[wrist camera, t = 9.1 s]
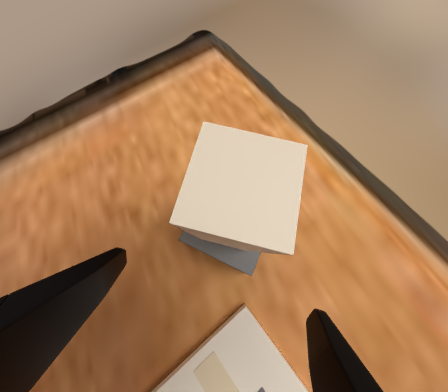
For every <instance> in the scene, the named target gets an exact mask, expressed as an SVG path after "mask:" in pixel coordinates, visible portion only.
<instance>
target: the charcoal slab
mask: <svg viewBox="0 0 448 392" xmlns="http://www.w3.org/2000/svg"><path fill="white" fill-rule="evenodd" d="M179 241H181V242H183V243H185V244H187V245H189V246H191V247H193V248H196V249H198V250H200V251H202V252H204V253H206V254H208V255H210V256H212V257H214V258H216V259H218V260H220V261H222V262H224V263H226V264H228V265H230V266H232V267H234V268H236V269H238V270H240V271H242V272H244V273H246V274H248V275H250V276H252V274H253V272H254V269H255V266H256V264H257V261H258V258H259V256H260V253H261V252H255V251H244V250H241V249H237V248H233V247H229V246H225V245H221V244H217V243H214V242H210V241H206V240H202V239H200V238H198V237H196V236H194V235H192V234H190V233H188V232H186V231H184V230H183V232H182V234H181V236H180V238H179Z"/></svg>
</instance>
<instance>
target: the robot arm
mask: <svg viewBox="0 0 448 392" xmlns="http://www.w3.org/2000/svg"><path fill="white" fill-rule="evenodd" d="M126 262H127V258H126V250H125V249H122V248H119V247H117V248H114V249H111V250H109V251H107V252H104V253H102V254H100V255H98V256H95V257H93V258H91V259H88V260H86V261H84V262H81V263H79V264H77V265H75V266H72V267H70V268H68V269H65V270H63V271H61V272H58V273H56V274H54V275H52V276H49V277H47V278H45V279H42V280H40V281H38V282H35V283H33V284H31V285H28V286H26V287H24V288H22V289H19V290H17V291H15V292H12V293H10V295H5V296H3V297H1V298H0V392H29V391H30V390H31V389H32V387H33V386H34V385H35V384H36V382H37V381H38V380H39V379H40V377H41V376H42V375H43V374H44V372H45V371H46V370H47V369H48V367H49V366H50V365H51V364H52V362H53V361H54V360H55V359H56V357H57V356H58V355H59V354H60V352H61V351H62V350H63V349H64V347H65V346H66V345H67V344H68V342H69V341H70V340H71V339H72V337H73V336H74V335H75V334H76V332H77V331H78V330H79V329H80V327H81V326H82V325H83V324H84V322H85V321H86V320H87V319H88V317H89V316H90V315H91V314H92V312H93V311H94V310H95V309H96V307H97V306H98V305H99V304H100V302H101V301H102V300H103V298H104V297H105V296H106V294H107V293H108V291H109V290H110V288H111V287H112V285H113V284H114V282H115V281H116V279H117V278H118V276H119V275H120V273H121V272H122V270H123V269H124V267H125V265H126ZM306 330H307V345H308V360H309V369H310V376H311V383H312V389H313V392H383V390H382V389H381V388H380V386H379V385H378V384H377V382H376V381H375V379H374V378H373V377H372V375H371V374H370V373H369V371H368V370H367V368H366V367H365V366H364V364H363V363H362V362H361V360H360V359H359V357H358V356H357V355H356V353H355V352H354V350H353V349H352V348H351V346H350V345H349V344H348V342H347V341H346V339H345V338H344V337H343V335H342V334H341V333H340V331H339V330H338V328H337V327H336V326H335V324H334V323H333V322H332V320H331V319H330V317H329V316H328V315H327V313H326V312H324V311H322V310H319V309H314V310H313V311H312V312H311V314H310V315H309V317H308V318H307V321H306Z"/></svg>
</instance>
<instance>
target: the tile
mask: <svg viewBox="0 0 448 392" xmlns="http://www.w3.org/2000/svg"><path fill="white" fill-rule="evenodd" d="M151 392H308V390H307V388H306V387H305V386H304V384H303V383H302V381H301V380H300V379H299V377H298V376H297V375H296V373H295V372H294V370H293V369H292V368H291V366H290V365H289V364H288V362H287V361H286V360H285V358H284V357H283V355H282V354H281V353H280V351H279V350H278V349H277V347H276V346H275V344H274V343H273V342H272V340H271V339H270V338H269V336H268V335H267V333H266V332H265V331H264V329H263V328H262V327H261V325H260V324H259V322H258V321H257V320H256V318H255V317H254V316H253V314H252V313H251V312H250V310H249V309H248V307H247V306H246V305H245V303H244V304H243V305H242V306H241V307H240V308H239V309H238V310H237V311H236V312H235V313H234V314H233V315H232V316H231V317H230V318H229V319H227V320H226V321H225V322H224V323H223V324H222V325H221V326H220V327H219V328H218V329H217V330H216V331H215V332H214V333H213V334H212V335H211V336H209V337H208V338H207V339H206V340H205V341H204V342H203V343H202V344H201V345H200V346H199V347H198V348H197V349H196V350H195V351H194V352H192V353H191V354H190V355H189V356H188V357H187V358H186V359H185V360H184V361H183V362H182V363H181V364H180V365H179V366H178V367H177V368H176V369H174V370H173V371H172V372H171V373H170V374H169V375H168V376H167V377H166V378H165V379H164V380H163V381H162V382H161V383H160V384H159V385H157V386H156V387H155V388H154V389H153V390H152V391H151Z"/></svg>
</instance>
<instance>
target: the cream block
mask: <svg viewBox="0 0 448 392" xmlns="http://www.w3.org/2000/svg"><path fill="white" fill-rule="evenodd" d="M306 152H307V145H305V144H301V143H296V142H292V141H287V140H283V139H279V138H274V137H270V136H266V135H261V134H257V133H253V132H248V131H244V130H239V129H235V128H231V127H226V126H222V125H218V124H213V123H209V122H205V121H204V122H203V125H202V128H201V131H200V134H199V137H198V139H197V142H196V145H195V148H194V151H193V154H192V157H191V160H190V163H189V166H188V169H187V172H186V175H185V178H184V181H183V184H182V186H181V189H180V192H179V195H178V198H177V201H176V204H175V207H174V210H173V213H172V216H171V219H170V222H169V223H170V224H172V225H174V226H176V227H178V228H180V229H182V230H184V231H186V232H188V233H190V234H192V235H194V236H196V237H198V238H200V239H202V240H206V241H210V242H214V243H217V244H221V245H225V246H229V247H233V248H237V249H241V250H244V251H255V252H266V253H276V254H287V255H294V247H295V239H296V231H297V223H298V215H299V207H300V200H301V192H302V184H303V176H304V168H305V160H306Z"/></svg>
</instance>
